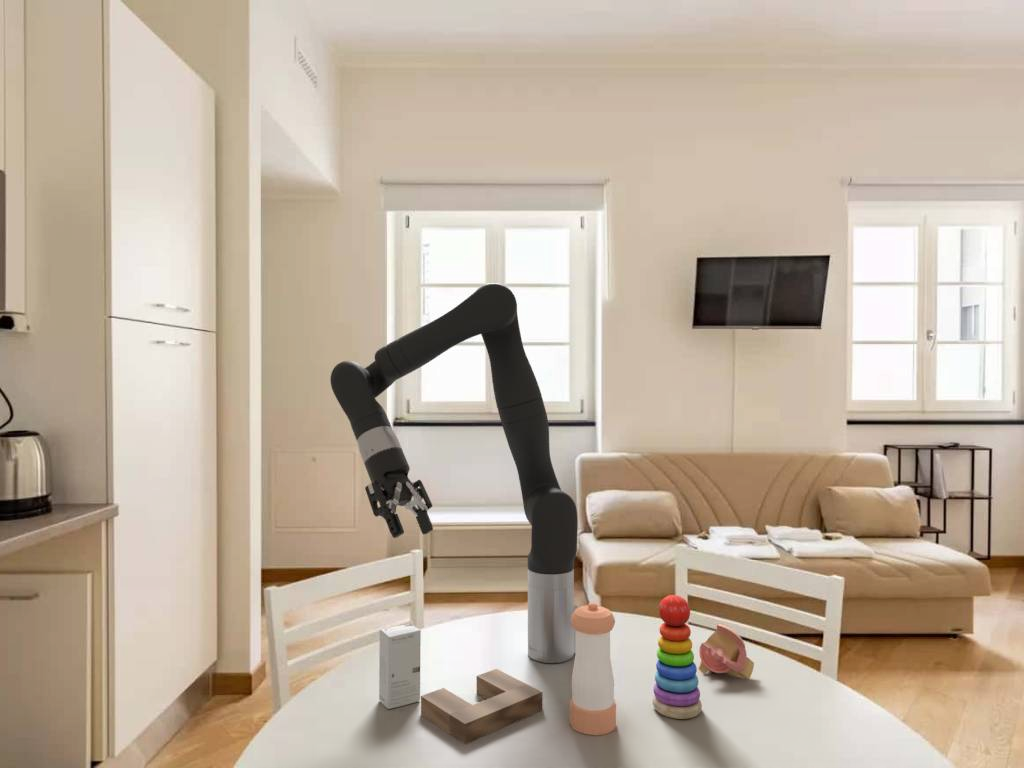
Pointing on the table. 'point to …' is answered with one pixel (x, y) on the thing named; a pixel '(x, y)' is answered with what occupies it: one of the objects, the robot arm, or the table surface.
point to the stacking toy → (676, 663)
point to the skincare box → (399, 666)
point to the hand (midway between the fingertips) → (414, 534)
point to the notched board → (482, 706)
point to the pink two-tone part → (725, 654)
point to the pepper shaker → (592, 672)
